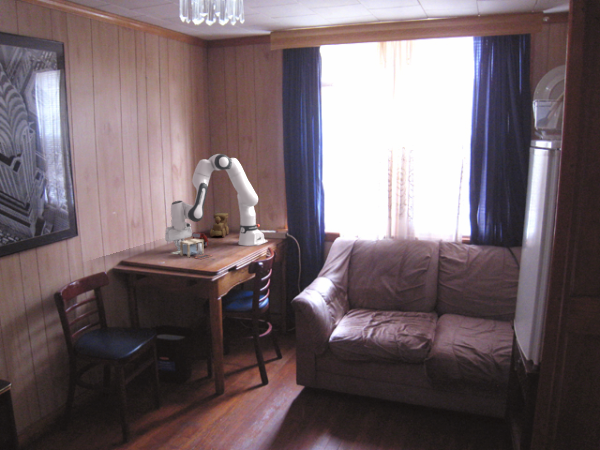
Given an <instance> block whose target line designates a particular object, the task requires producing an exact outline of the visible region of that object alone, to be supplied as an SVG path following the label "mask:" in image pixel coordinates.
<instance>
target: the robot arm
mask: <svg viewBox="0 0 600 450" xmlns="http://www.w3.org/2000/svg"><path fill="white" fill-rule="evenodd" d="M214 171H226V173H227V175H228V178H229V179H230V182H231V183H232V186H233V187H234V189H235V191H236V192H237V196H236V197H237V198H236V199H237V203H238V209H239V217H240V218H239V220H240V221H239V223H240V224H239V230H240V231H239V238H238V241H237V243H238V245H240V246H248V247H249V246H260V245H263V244H265V243H267V242H269V241H268V240H267V239H265V235H264V232H262V231H260V229H258V228H260V224H259V223H258V224H257V220H256V219H257V213H256V211H255V207H254V206H256V205H258V202H259V197H258V194H257V193H256V191H255V189H254V188H253V186H252V183H251V182H250V181H249V179H248V177H247V175H246V172H245V171H244V168H243V166H242V165H241V163H240V161H239V160H238V159H237V158H235V157H231V158H230V157H229V156H228V155H226V154H224V153H217V154H212V155H211V156H209V157H208V158H207V159H203V158H202V159H200V160H199V161H198V163H197V165H196V167H195V169H194V172H193V175H192V180H191V181H192V182H191V183H192V185H193V187H194V188H195V190H196V196H195V201H194V204H189V203H186V202H184V201H183V200H175V201H173V202H172V203H171V204H170V216H171V219H170V222H171V223H170V225H171V226H167V228H165V234H164V239H165V241H166V242H173V243H174V246H175V247H177V246H179V245H178V243H177V240H181V241H185V239H186V238H191V237H192V233H193V231H192V227H191V226H192V224H191V223H190V222H186V219H187V220H190V221H192V222H194V223H197V222H200V221H201V220H202V219H203V218H204V215H205V214H204V213H205V212H204V211H205V210H204V209H205V208H204V207H205V203H206V199H207V194H208V186H209V182H210V179H211V175H212V173H213V172H214Z"/></svg>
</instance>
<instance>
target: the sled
mask: <svg viewBox="0 0 600 450" xmlns="http://www.w3.org/2000/svg"><path fill="white" fill-rule="evenodd" d="M176 242H177V243H178V245H179V246H176V247H177V248H176V249H177V251H180V242H181V239H178V240H177V241H176ZM197 245H198V246H197V251H196V244H190V256H192V255H198V256H201V255H203V254H202V244H201V243H198V244H197ZM183 255H187V244H183Z"/></svg>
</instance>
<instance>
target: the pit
mask: <svg viewBox="0 0 600 450" xmlns="http://www.w3.org/2000/svg"><path fill="white" fill-rule="evenodd" d="M211 256H212V257H213V255H212V254H205V253H204V254H201V255H198V256H194V259H196V258H197V260H204V259H207V257H208V258H211Z"/></svg>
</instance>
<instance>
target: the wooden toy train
mask: <svg viewBox="0 0 600 450" xmlns="http://www.w3.org/2000/svg"><path fill="white" fill-rule="evenodd" d="M213 219H214V223H213V226H212V228H210V231H209V234H210V237H211V238H214V237H215V236H217V237H218V236H220V237H221V236H222V238H226V236H228V235H229V233H230V228H229V226H228V219H229V213H227V212H217V213H214V214H213Z"/></svg>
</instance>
